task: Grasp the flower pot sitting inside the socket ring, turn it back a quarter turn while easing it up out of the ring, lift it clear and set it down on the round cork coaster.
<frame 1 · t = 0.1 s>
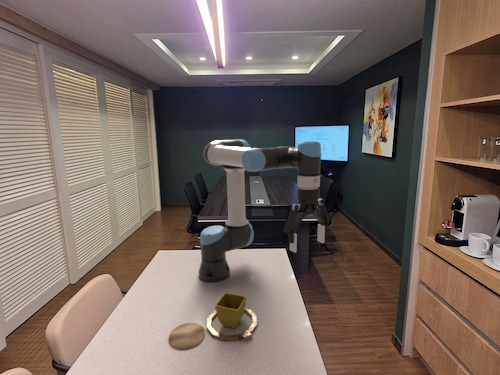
hand: (307, 246, 100), 28 cm above the table, fingers open, 13 cm apart
socket ring: (232, 322, 103), on the table
flower pot: (232, 323, 103), resting in socket ring
coaster: (187, 336, 96), on the table
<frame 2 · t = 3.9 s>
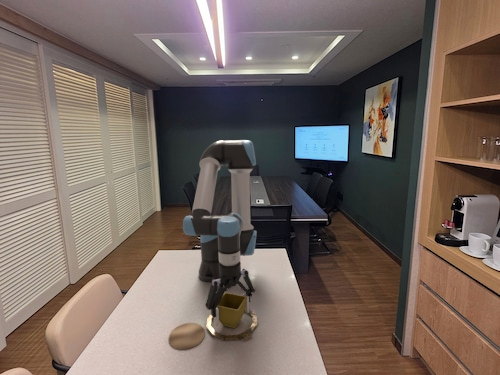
hand: (231, 317, 102), 2 cm above the table, fingers closed on flower pot, 12 cm apart
flower pot: (232, 323, 103), resting in socket ring, touching gripper
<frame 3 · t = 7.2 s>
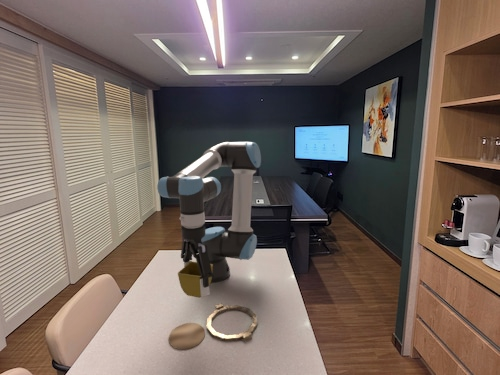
hand: (196, 286, 94), 18 cm above the table, fingers closed on flower pot, 12 cm apart
flower pot: (197, 293, 95), point 15 cm above the table, touching gripper
when the fingers open (4 cm above the table, at t = 10.6 s): flower pot drops 1 cm, resting on coaster.
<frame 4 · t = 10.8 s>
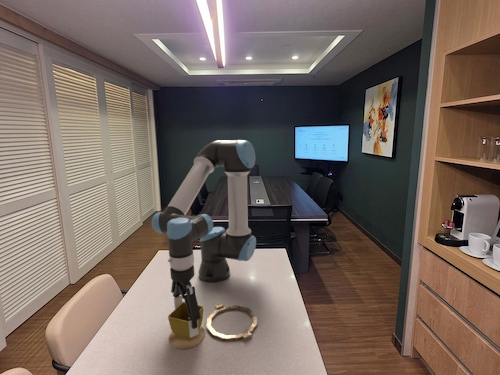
hand: (186, 323, 96), 5 cm above the table, fingers open, 13 cm apart
flower pot: (187, 335, 96), resting on coaster
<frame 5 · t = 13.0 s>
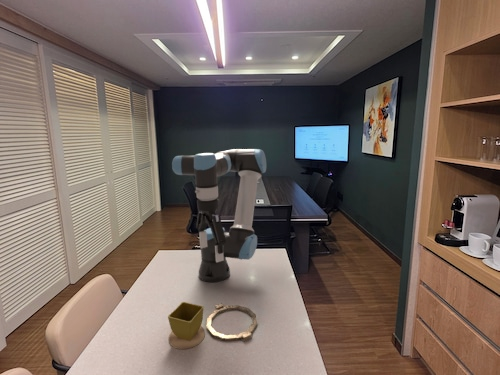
hand: (211, 253, 103), 25 cm above the table, fingers open, 13 cm apart
nothing on the table moved.
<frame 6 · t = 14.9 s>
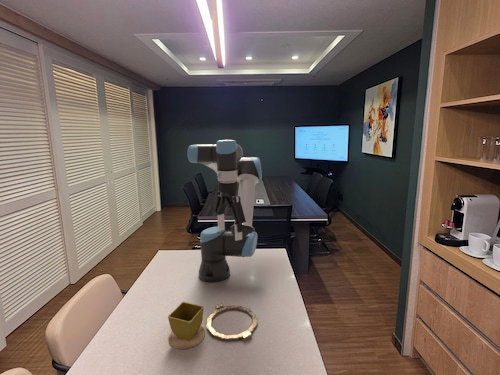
hand: (229, 234, 111), 29 cm above the table, fingers open, 13 cm apart
nothing on the table moved.
at the end: flower pot 0.3 cm from the coaster (horizontally); flower pot tilted 0°; the gripper is holding nothing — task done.
